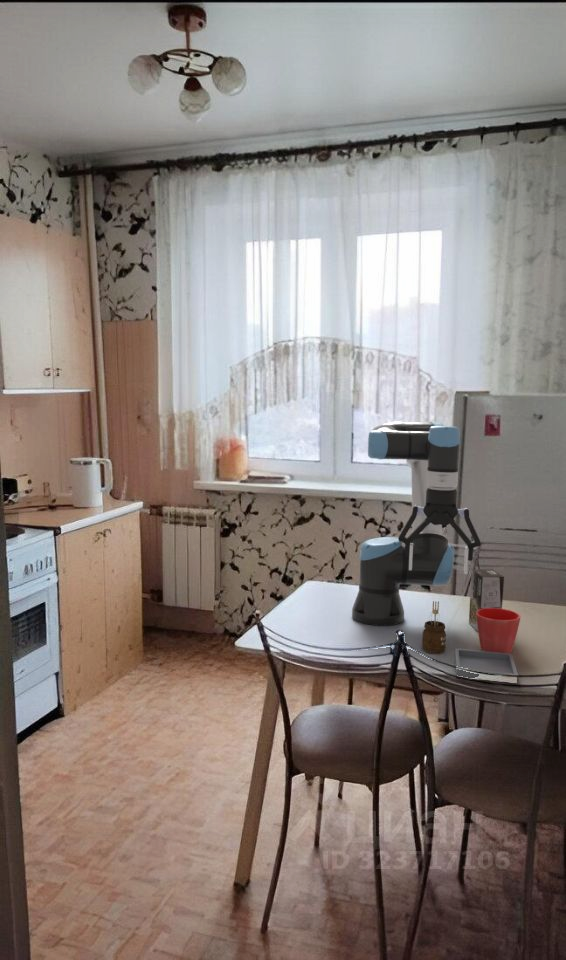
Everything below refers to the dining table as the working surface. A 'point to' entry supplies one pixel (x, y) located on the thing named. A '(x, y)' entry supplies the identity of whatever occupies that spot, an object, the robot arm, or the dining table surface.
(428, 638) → the utensil holder
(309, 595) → the dining table surface
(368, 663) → the dining table surface
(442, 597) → the dining table surface
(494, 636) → the flower pot
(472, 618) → the coffee box
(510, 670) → the tray
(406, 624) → the dining table surface
